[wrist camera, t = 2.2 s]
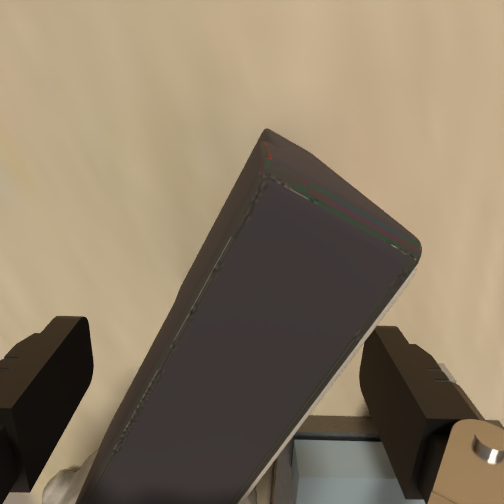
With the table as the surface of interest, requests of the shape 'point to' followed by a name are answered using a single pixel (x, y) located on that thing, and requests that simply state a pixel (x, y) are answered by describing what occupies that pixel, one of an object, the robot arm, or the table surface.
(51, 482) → the dish
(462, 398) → the robot arm
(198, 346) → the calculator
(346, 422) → the vise
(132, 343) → the table surface
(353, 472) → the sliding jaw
